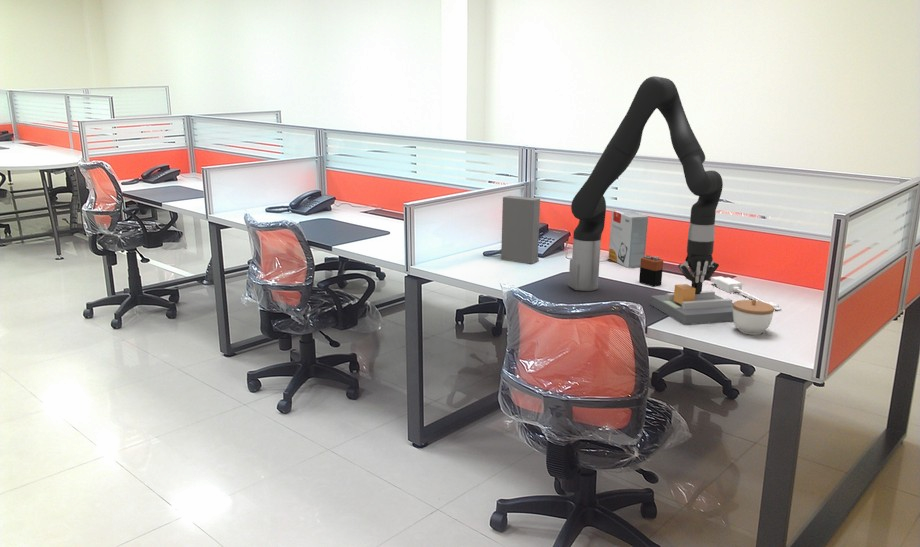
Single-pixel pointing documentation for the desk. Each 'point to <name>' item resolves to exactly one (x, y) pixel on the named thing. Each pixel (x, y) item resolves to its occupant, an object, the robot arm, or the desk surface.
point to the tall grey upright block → (520, 229)
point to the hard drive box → (627, 237)
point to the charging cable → (736, 288)
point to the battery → (651, 270)
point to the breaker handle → (684, 293)
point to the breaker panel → (696, 308)
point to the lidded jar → (752, 316)
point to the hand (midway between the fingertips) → (696, 293)
